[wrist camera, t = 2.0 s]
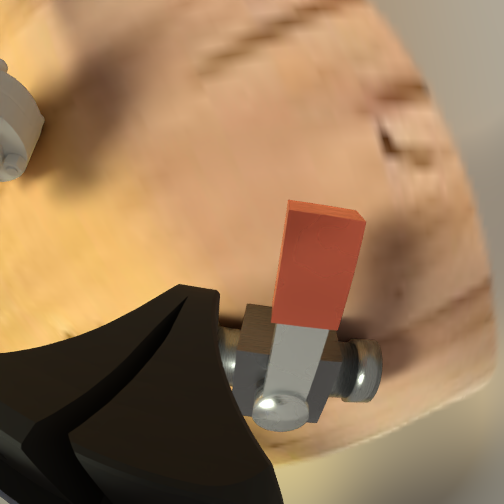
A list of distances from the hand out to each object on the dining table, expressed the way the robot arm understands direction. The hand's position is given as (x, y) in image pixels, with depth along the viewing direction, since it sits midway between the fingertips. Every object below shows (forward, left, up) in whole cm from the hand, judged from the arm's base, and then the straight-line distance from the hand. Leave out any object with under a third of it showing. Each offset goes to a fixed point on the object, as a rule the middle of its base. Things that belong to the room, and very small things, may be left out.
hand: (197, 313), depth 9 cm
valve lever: (-4, -4, -5) cm, 7 cm away
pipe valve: (-9, -4, -10) cm, 14 cm away
